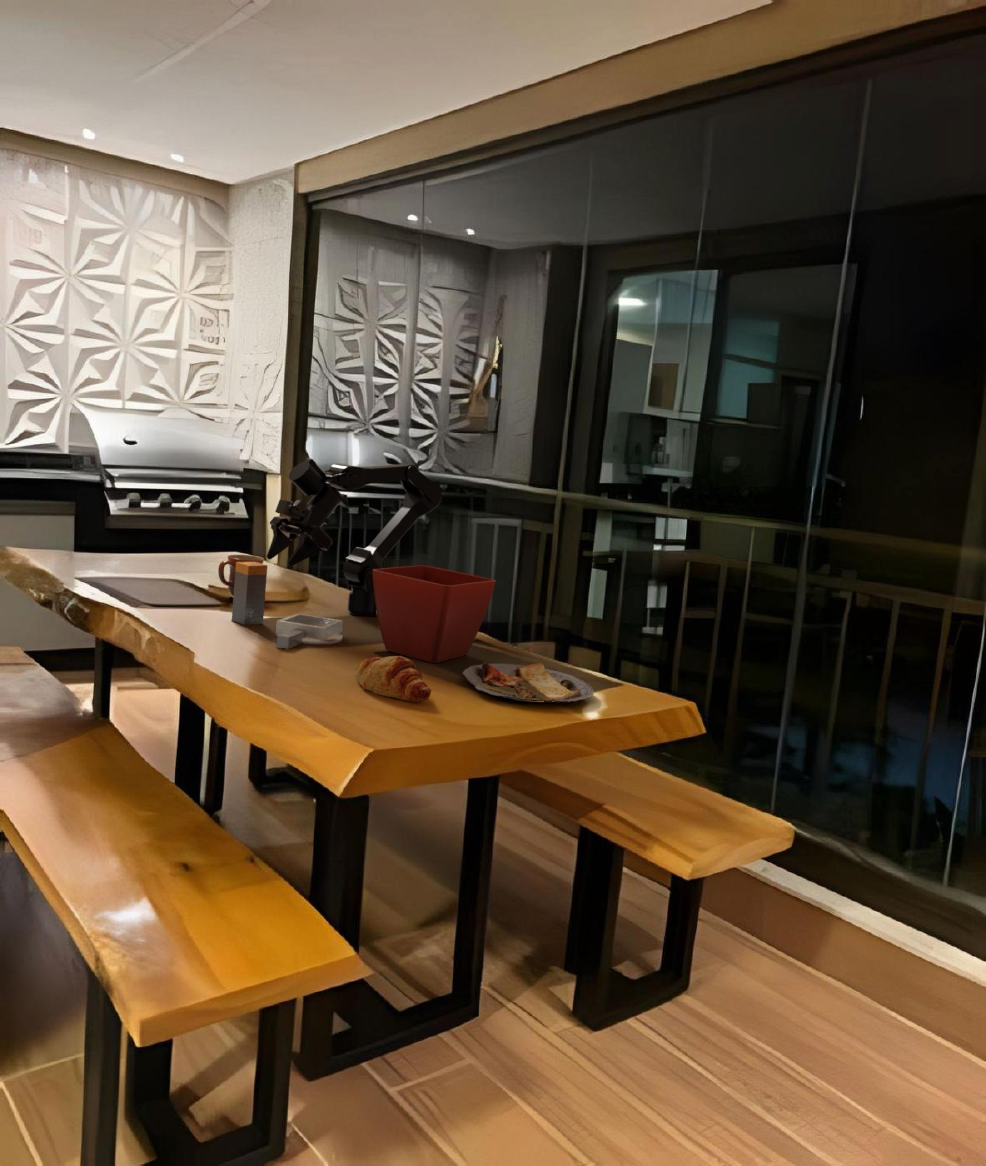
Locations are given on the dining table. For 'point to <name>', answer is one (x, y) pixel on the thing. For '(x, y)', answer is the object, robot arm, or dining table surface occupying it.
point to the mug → (232, 563)
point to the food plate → (529, 681)
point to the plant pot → (430, 610)
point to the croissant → (392, 678)
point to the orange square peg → (249, 593)
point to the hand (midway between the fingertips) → (278, 561)
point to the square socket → (307, 630)
